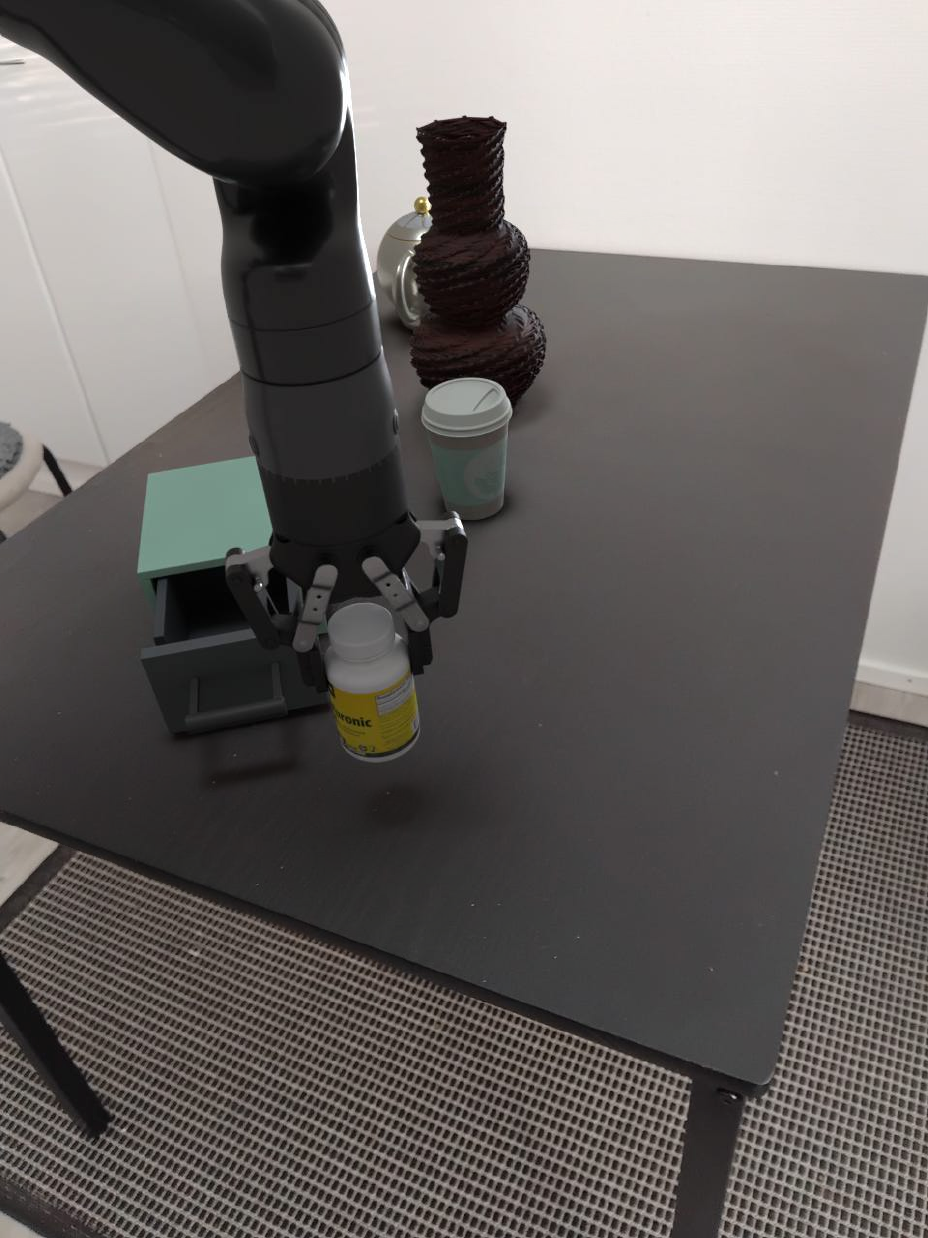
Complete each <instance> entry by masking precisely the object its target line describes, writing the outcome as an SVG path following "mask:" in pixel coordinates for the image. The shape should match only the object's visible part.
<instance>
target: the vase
mask: <svg viewBox="0 0 928 1238" xmlns="http://www.w3.org/2000/svg"><path fill="white" fill-rule="evenodd" d="M507 126H508V122H507V121H501V120H500V119H497V118H495V117H494V115H489V116H488V117H481V116H467V115H466V114H464V115H461V117H453V118H446V119H445V118H444V119H439V120H438V119H433V122H430V123H427V124H425V125H422V126H419V127H417V126H416V127H415V130H416V135H415V139H416V140H417V142H418V143H419V144H420V145H422V148H420V150H419V151H420V154H421V156H422V157H423V158H424V161H423V162H422V163H421V165H422V168H423V169H424V170H425V171H424V173H423V176H424V179H425V180H426V181H428V183H429V184H428V185H427V186H426V191H427V193H428V194H429V196H428V197H427V199H428V202H429V203H430V210H429V214H430V215H431V216H432V218H433V219H432V220H431V221H432V224H433V225H432V226H431V227H430V229H429V230H428V232H426V233H423V234H422V235H421V237H420V238H421V242H420V243H419V244H418V245H415V246H414V250H415V255H414V256H413V257H412V261H413V262H415V263H416V264H417V266H414V268H412V269H413V270H412V271H413V272H414V273H415V274H416V275H417V278H416V279H415V281H416V283H418V284H420V285H421V287H420V288H418V292H419V294H422V295H423V296H424V297H425V299H424V302H425V303H426V304H429V305H430V309H428V310H429V311H430V312H432V313H429V314H428V315H424V316H423V317H422V318H421V319H420V324H419V326H418V327H416V328H415V329H413V330H412V333H413V335H411V337H409V338H408V345H409V347H411V349H410V351H409V355H410V356H411V358H410V361H409V363H410V365H411V367H412V368H414V369H415V373H416V376H418V377H419V378H420V379H419V380H418V381H419V384H420V385H421V386H423V387H424V388H425V389H426V388H427V389H428V392H429V391H430V390H431V389H432V388H434V387H435V386H437V385H439V384H441V383H444V382H446V381H450V380H454V379H460V378H482V379H487V380H491V381H494V382H496V383H498V384H499V385H501V386H502V387H503V389H504V390H505V393H506V396H507V398H508V399H509V401H510V404H511V408H512V413H513V412H514V409H515V408H516V407H517V404H518V402H519V401H520V400H522V397H523V395H524V394H525V393H527V390H529V389H530V387H531V386H532V385H533V383H534V381H535V379H536V378H537V376H538V375H539V374H540V372H541V370H542V367H543V366H544V364H545V359H546V351H547V336H546V333H545V331H544V329H545V327H544V324H543V323H542V320H541V318H540V317H539V316H538V314H537V313H536V312H535V311H533V310H531V309H530V308H529V307H527V306H525V305H521V304H519V303H520V301H521V300H522V299H523V298H524V296H525V293H526V290H527V288H526V286H527V284H528V279H529V277H530V263H529V262H530V261H531V258H532V257H531V256H532V255H531V249H530V248H529V245H528V241H527V239H526V236H525V235H524V234H523V232H522V231H521V230H520V229H519V228H518V227H517V226H516V225H515V224H513V223H512V222H510V221H508V220H506V219H505V215H506V211H505V203H506V196H505V194H504V193H505V191H504V185H503V184H504V177H505V174H504V167H505V159H506V157H505V156H506V152H505V149H504V146H503V145H504V142H505V137H506V133H507V131H508V130H507V129H508V127H507ZM439 228H440V229H439ZM428 317H429V318H428Z"/></svg>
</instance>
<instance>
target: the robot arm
mask: <svg viewBox="0 0 928 1238" xmlns="http://www.w3.org/2000/svg"><path fill="white" fill-rule="evenodd" d="M0 36H1V37H2V38H4V39H6V40H8V41H10V42H12V43H13V44H15V45H17V46H19V47H22V48H23V49H26V50H28V51H30V52H33V53H35V54H37V55H38V56H39V57H42V58H43V59H45V60H47V61H48V62H50V63H51V64H53V65H54V66H55V67H57V68H58V69H59V70H61V71H62V72H63V73H64V74H65V75H67V76H68V77H69V78H70V79H71V80H72V81H74V83H76V84H77V85H78V86H79V87H80V88H82V89H83V90H84V91H85V92H87V93H88V94H89V95H90V96H92V97H93V98H95V99H96V100H97V101H99V103H101V104H103V105H104V106H105V107H107V109H109V110H111V111H112V112H113V113H114V114H116V115H117V116H118V117H119V118H121V119H122V120H124V121H125V122H126V123H128V124H129V125H130V126H132V127H133V128H134V129H136V130H137V131H138V132H139V133H141V134H142V135H144V136H145V137H146V138H148V139H149V140H151V141H152V142H153V143H155V144H156V145H158V146H159V147H160V148H161V149H163V150H165V152H168V153H169V154H170V155H172V156H174V157H176V158H177V159H179V160H180V161H182V162H184V163H186V164H187V165H189V166H190V167H193V168H194V169H196V170H198V171H200V172H202V173H204V174H206V175H207V176H210V177H211V178H212V184H213V187H214V193H215V197H216V202H217V206H218V211H219V215H220V221H221V226H222V244H221V255H220V277H221V287H222V293H223V300H224V305H225V309H226V314H227V318H228V323H229V327H230V332H231V337H232V340H233V345H234V349H235V353H236V357H237V361H238V366H239V371H240V377H241V385H242V386H241V387H242V401H243V409H244V414H245V419H246V423H247V427H248V440H249V445H250V448H251V451H252V453H253V454H254V456H256V462H257V466H258V470H259V474H260V478H261V483H262V487H263V491H264V495H265V500H266V504H267V508H268V512H269V517H270V521H271V525H272V534H271V537H270V539H269V544H268V546H265V547H262V548H259V549H256V550H253V551H250V552H247V553H246V551H245V550H244V549H242V548H238V547H235V548H231V549H230V550H228V551H227V553H226V584H227V586H228V587H229V589H230V591H231V593H232V594H233V596H234V598H235V600H236V602H237V603H238V605H239V607H240V609H241V611H242V612H243V614H244V616H245V618H246V620H247V621H248V623H249V625H250V627H251V629H252V630H253V632H254V634H255V636H256V637H257V639H258V641H259V643H260V645H261V646H262V647H263V648H264V649H267V650H274V649H276V648H278V647H279V646H280V645H284V646H289V647H291V648H293V649H294V650H295V651H296V654H297V658H298V663H299V667H300V671H301V675H302V679H303V682H304V683H305V685H306V686H307V687H312V686H316V691H317V694H319V693H325V692H328V693H329V689H328V684H327V680H326V675H325V670H324V656H323V652H322V646H321V643H320V639H319V638H320V637H319V634H318V632H317V631H318V628H319V625H321V624H322V622H323V619H324V615H325V614H326V612H327V609H328V605H336V604H342V603H344V602H346V601H349V600H352V599H354V598H367V599H370V598H375V597H380V596H383V597H384V599H385V600H386V601H387V603H388V604H389V605H390V607H391V608H392V609H393V611H395V612H397V613H399V615H400V616H401V618H402V619H403V625H404V632H405V640H406V644H407V646H408V649H409V653H410V659H411V666H412V673H413V677H416V676H420V675H425V670H424V667H425V666H430V665H432V662H433V659H434V653H433V645H432V637H431V630H430V627H431V624H432V623H433V622H434V621H436V620H437V619H439V618H443V619H451V618H453V617H455V616H456V615H457V614H458V612H459V607H460V601H461V600H460V599H461V593H462V587H463V586H462V585H463V579H464V572H465V566H466V565H465V564H466V559H467V553H468V552H467V551H468V545H469V540H468V536H467V534H466V531H465V528H464V525H463V522H462V519H460V516H459V515H458V513H456V512H454V511H445V512H444V513H442V514H441V516H440V518H439V520H437V519H435V520H432V519H431V520H430V519H429V520H427V519H426V520H423V519H421V520H419V519H417V516H415V514H414V513H413V512H412V511H411V510H410V508H409V504H408V503H409V502H408V495H407V488H406V480H405V473H404V465H403V456H402V449H401V440H400V433H399V430H400V417H399V414H398V411H397V409H396V403H395V395H394V388H393V384H392V379H391V375H390V372H389V368H388V365H387V361H386V357H385V353H384V348H383V341H382V339H383V338H382V333H381V324H380V318H379V310H378V309H379V308H378V302H377V294H376V287H375V282H374V277H373V271H372V267H371V261H370V259H369V254H368V250H367V246H366V241H365V236H364V232H363V227H362V221H361V220H362V219H361V212H360V211H361V210H360V194H359V193H360V192H359V180H358V164H357V152H356V139H355V127H354V117H353V106H352V104H353V103H352V93H351V84H350V83H351V82H350V75H349V65H348V59H347V54H346V50H345V46H344V43H343V39H342V37H341V34H340V32H339V29H338V27H337V25H336V23H335V22H334V20H333V18H332V16H331V15H330V13H329V11H328V10H327V9H326V7H325V6H324V4H322V2H321V1H320V0H0ZM420 543H421V544H424V545H425V546H426V547H427V550H428V554H429V556H430V557H431V558H432V559H434V564H433V571H432V579H431V587H429V588H428V589H426V590H424V591H421V592H420V590H419V589H418V587H417V586H416V584H415V583H414V582H413V580H412V579H411V577H410V576H409V574H408V571H407V569H406V568H405V566H406V565H407V563H408V562H409V560H410V559H411V557H412V556H413V554H414V552H415V551H416V550H417V548H418V546H419V545H420ZM273 567H274V568H275V569H277V570H278V571H279V572H281V573H282V574H283V575H285V576H286V577H287V578H289V579H290V580H291V581H293V582H294V583H295V584H297V585H298V587H297V596H296V601H295V604H294V608H293V611H292V615H281V614H279V613H278V611H277V610H276V608H275V606H274V604H273V602H272V600H271V598H270V596H269V594H268V592H267V591H266V589H265V587H266V586H267V585H268V571H269V570H270V569H271V568H273Z"/></svg>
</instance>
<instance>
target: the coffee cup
mask: <svg viewBox="0 0 928 1238" xmlns="http://www.w3.org/2000/svg"><path fill="white" fill-rule="evenodd" d="M512 415H513V412H512V408H511V404H510V401H509V399H508V398H507V396H506V393H505V390H504V389H503V387H502V386H501V385H499V384H498V383H496V382H494V381H491V380H487V379H482V378H460V379H454V380H450V381H446V382H444V383H441V384H439V385H437V386H435V387H434V388H432V389H431V390H430V391H429V390H428V392H427V393H426V395H425V398H424V404H423V406H422V408H421V418H420V419H421V423H422V424H423V426H424V428H426V432H427V436H428V440H429V445H430V448H431V453H432V457H433V462H434V466H435V471H436V474H437V478H438V482H439V485H440V490H441V495H442V498H443V503H444V507H445V510H446V512H448V511H454V512H456V513H458V515H459V516H460V519H461V520H464V521H479V520H484V519H487V518H490V517H492V516H494V515H496V514H497V513H499V512H500V510H501V509H502V507H503V505H504V498H505V497H504V495H505V482H506V465H507V453H508V452H507V451H508V450H507V449H508V434H509V421H510V420H511V418H512Z"/></svg>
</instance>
